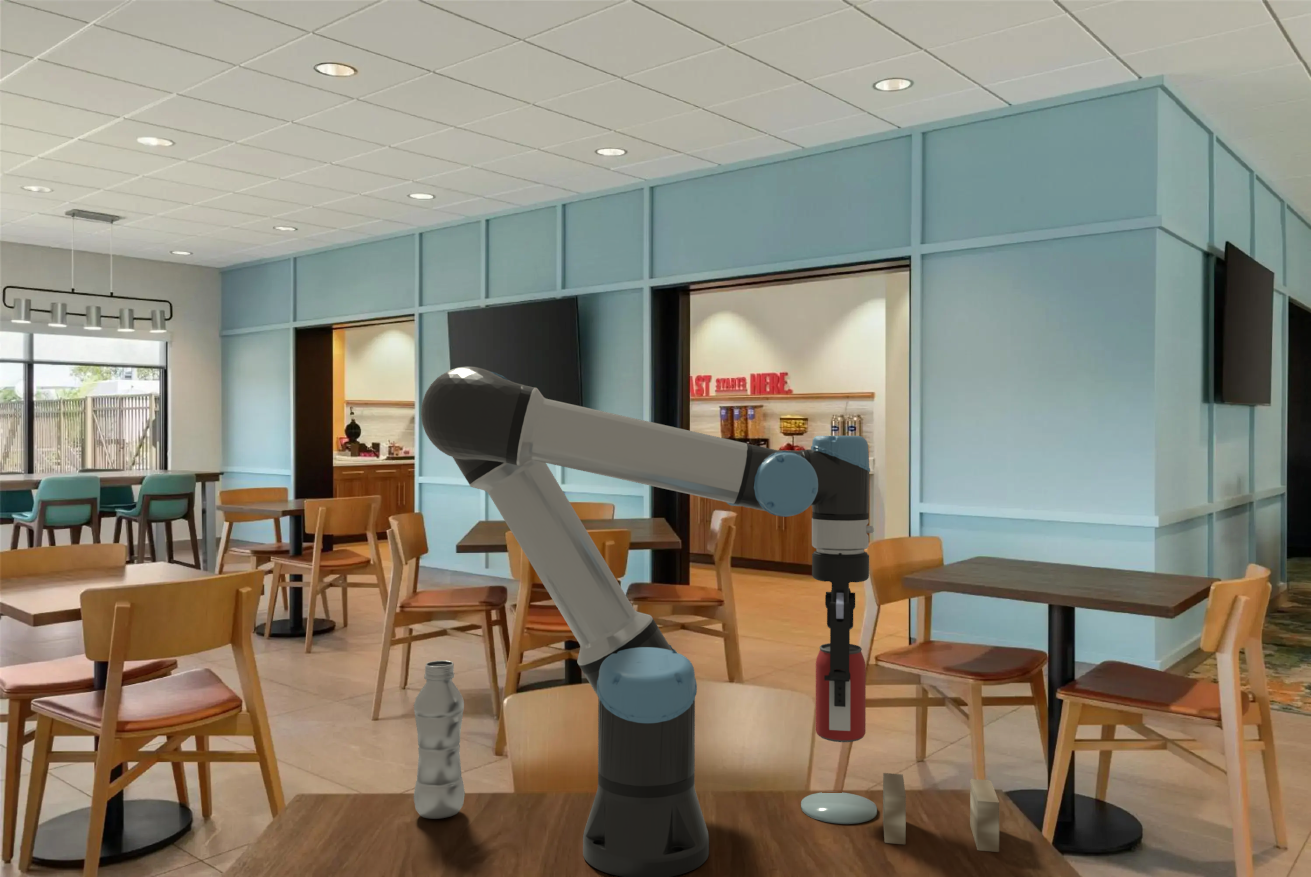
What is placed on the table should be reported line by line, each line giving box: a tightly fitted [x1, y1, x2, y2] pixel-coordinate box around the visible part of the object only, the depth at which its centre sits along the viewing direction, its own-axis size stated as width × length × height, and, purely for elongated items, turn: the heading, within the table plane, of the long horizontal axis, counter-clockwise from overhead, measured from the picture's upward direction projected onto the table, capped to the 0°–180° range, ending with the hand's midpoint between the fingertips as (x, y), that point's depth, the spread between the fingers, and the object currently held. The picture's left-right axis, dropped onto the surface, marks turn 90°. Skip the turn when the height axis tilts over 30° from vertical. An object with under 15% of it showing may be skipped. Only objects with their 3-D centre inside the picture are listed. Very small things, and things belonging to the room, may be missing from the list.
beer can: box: [815, 642, 867, 743], centre depth 137 cm, size 7×7×12 cm
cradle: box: [882, 772, 1000, 853], centre depth 128 cm, size 14×8×6 cm, turn 79°
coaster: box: [800, 792, 878, 825], centre depth 137 cm, size 10×10×1 cm
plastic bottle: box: [413, 660, 466, 820], centre depth 134 cm, size 6×7×20 cm
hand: (840, 721), depth 137 cm, fingers closed on beer can, 7 cm apart
